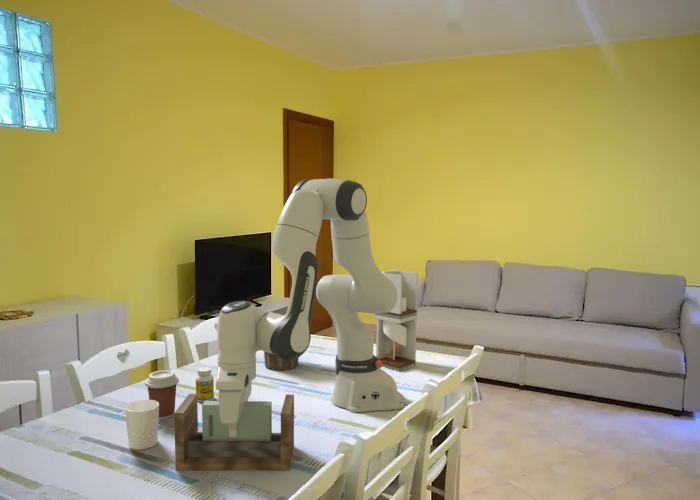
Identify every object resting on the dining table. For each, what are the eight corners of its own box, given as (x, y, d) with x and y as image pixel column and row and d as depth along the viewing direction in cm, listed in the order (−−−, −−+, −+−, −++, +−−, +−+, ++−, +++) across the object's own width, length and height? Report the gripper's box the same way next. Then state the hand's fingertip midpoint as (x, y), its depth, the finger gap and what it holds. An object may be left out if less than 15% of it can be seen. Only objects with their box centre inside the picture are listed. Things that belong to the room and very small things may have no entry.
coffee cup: (141, 413, 156) (140, 372, 154) (173, 406, 161) (172, 367, 160) (151, 424, 148) (150, 381, 147) (184, 416, 154) (183, 375, 152)
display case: (374, 364, 203) (375, 272, 200) (391, 358, 211) (393, 269, 208) (398, 371, 196) (401, 275, 192) (415, 365, 204) (417, 272, 200)
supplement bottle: (210, 395, 170) (210, 365, 169) (216, 400, 166) (216, 370, 165) (193, 398, 167) (193, 368, 166) (199, 404, 163) (198, 373, 162)
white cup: (132, 437, 140) (131, 399, 139) (163, 436, 141) (162, 399, 140) (122, 451, 132) (120, 412, 131) (155, 450, 133) (154, 411, 132)
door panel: (271, 449, 131) (271, 401, 130) (270, 454, 129) (270, 405, 127) (205, 448, 131) (204, 400, 130) (202, 454, 128) (201, 405, 127)
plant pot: (312, 363, 204) (313, 321, 202) (286, 375, 190) (286, 330, 188) (278, 356, 212) (278, 316, 210) (250, 367, 198) (250, 324, 197)
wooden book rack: (293, 446, 136) (294, 394, 135) (289, 470, 124) (289, 413, 123) (190, 445, 136) (189, 393, 135) (175, 469, 124) (174, 412, 123)
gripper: (232, 357, 138) (232, 409, 140) (213, 385, 118) (214, 446, 119) (257, 357, 138) (257, 410, 140) (242, 385, 118) (243, 446, 119)
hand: (237, 427), depth 129 cm, fingers open, 8 cm apart
